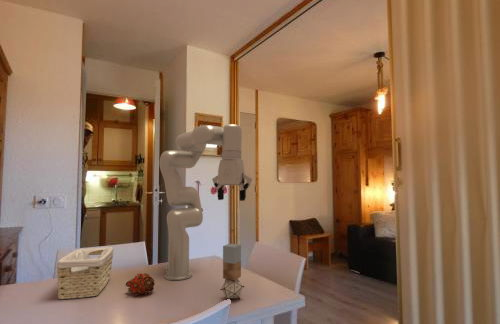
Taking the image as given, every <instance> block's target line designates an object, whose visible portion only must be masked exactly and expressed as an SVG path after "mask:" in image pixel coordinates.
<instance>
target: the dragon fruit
mask: <svg viewBox="0 0 500 324" xmlns="http://www.w3.org/2000/svg"><path fill="white" fill-rule="evenodd" d="M155 285H156V283H155V279H154V278H153V277H152V276H151V275H149V273H146V272H145V273H136V275H135V276H134V277H133V278H131V279H129V280H128V281H126V283H125V287H127V292H129V293H134V295H135V296H136V297H137V296H140V295H143V296H145V295H147V294H148V293H149V292H153V291H154V290H155V288H154V286H155Z"/></svg>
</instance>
